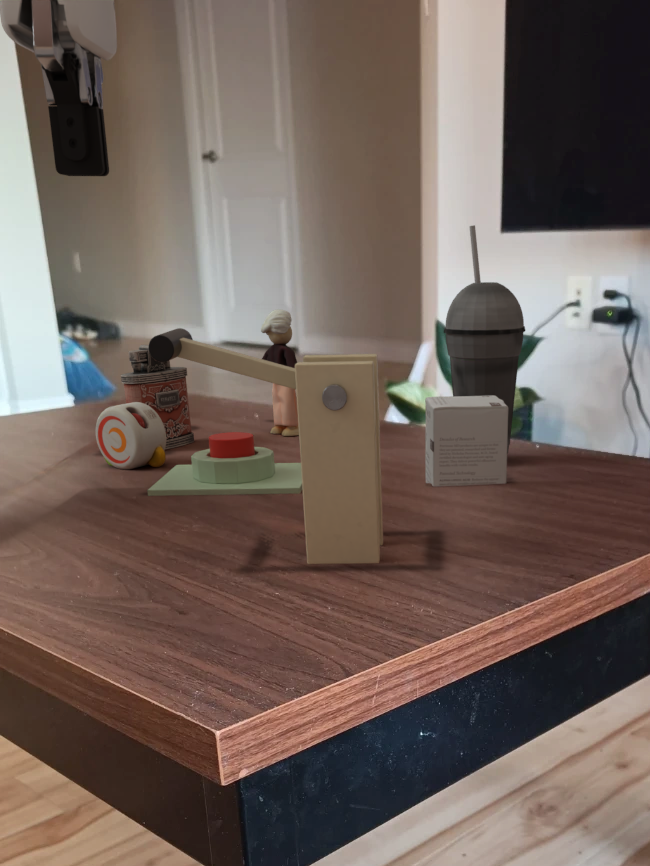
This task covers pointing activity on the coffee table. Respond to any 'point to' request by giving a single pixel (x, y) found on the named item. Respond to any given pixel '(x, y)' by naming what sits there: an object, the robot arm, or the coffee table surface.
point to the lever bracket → (340, 457)
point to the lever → (218, 358)
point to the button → (231, 445)
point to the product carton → (466, 440)
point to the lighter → (160, 394)
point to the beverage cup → (485, 339)
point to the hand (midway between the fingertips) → (83, 174)
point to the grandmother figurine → (282, 354)
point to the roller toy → (131, 436)
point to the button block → (230, 476)
